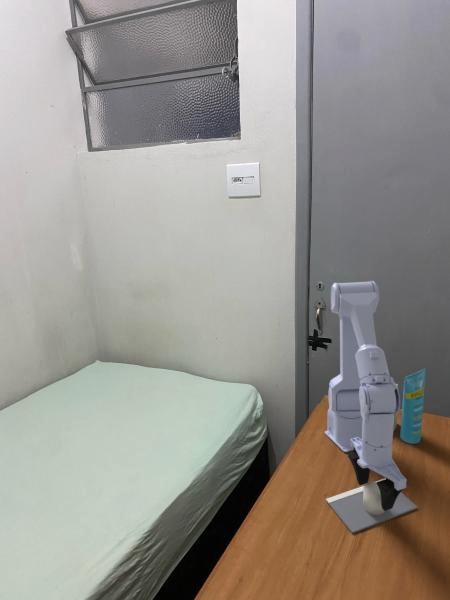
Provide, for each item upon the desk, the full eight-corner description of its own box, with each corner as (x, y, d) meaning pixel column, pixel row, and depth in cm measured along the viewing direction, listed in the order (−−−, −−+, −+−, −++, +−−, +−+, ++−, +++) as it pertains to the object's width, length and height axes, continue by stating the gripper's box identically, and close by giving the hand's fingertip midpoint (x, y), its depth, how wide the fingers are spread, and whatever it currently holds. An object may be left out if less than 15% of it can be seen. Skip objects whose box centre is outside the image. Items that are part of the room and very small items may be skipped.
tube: (410, 448, 103) (415, 380, 98) (393, 439, 107) (397, 373, 102) (427, 437, 107) (432, 370, 102) (410, 429, 111) (414, 364, 106)
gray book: (325, 500, 89) (325, 498, 88) (385, 479, 93) (385, 477, 93) (352, 533, 80) (352, 531, 80) (417, 508, 85) (417, 506, 85)
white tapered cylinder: (358, 502, 87) (359, 485, 86) (375, 496, 88) (376, 479, 87) (372, 518, 83) (372, 499, 82) (389, 511, 84) (390, 493, 83)
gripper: (338, 424, 86) (337, 478, 90) (385, 466, 73) (382, 527, 77) (366, 416, 88) (364, 469, 92) (417, 456, 75) (412, 515, 79)
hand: (374, 495), depth 85 cm, fingers open, 7 cm apart
